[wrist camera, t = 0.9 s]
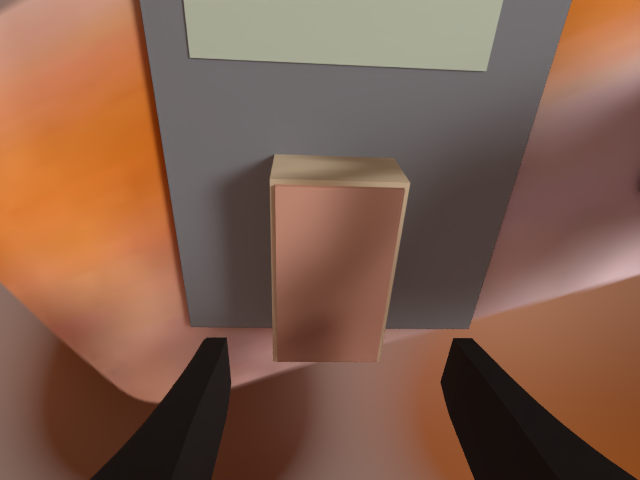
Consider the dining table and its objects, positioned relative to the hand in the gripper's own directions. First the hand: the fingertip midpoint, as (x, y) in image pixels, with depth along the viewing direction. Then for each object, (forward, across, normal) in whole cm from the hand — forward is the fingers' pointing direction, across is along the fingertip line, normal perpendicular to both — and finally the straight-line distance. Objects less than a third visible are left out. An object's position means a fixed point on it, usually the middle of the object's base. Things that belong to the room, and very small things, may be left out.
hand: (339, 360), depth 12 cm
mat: (+7, -1, -6) cm, 9 cm away
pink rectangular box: (+7, 0, 0) cm, 7 cm away
